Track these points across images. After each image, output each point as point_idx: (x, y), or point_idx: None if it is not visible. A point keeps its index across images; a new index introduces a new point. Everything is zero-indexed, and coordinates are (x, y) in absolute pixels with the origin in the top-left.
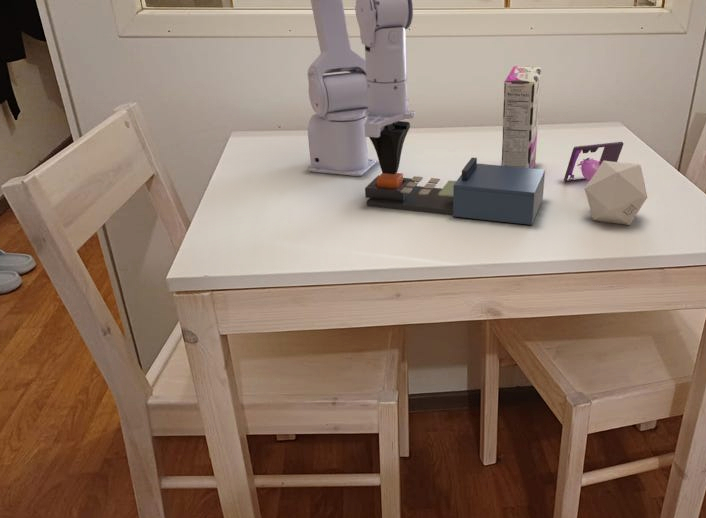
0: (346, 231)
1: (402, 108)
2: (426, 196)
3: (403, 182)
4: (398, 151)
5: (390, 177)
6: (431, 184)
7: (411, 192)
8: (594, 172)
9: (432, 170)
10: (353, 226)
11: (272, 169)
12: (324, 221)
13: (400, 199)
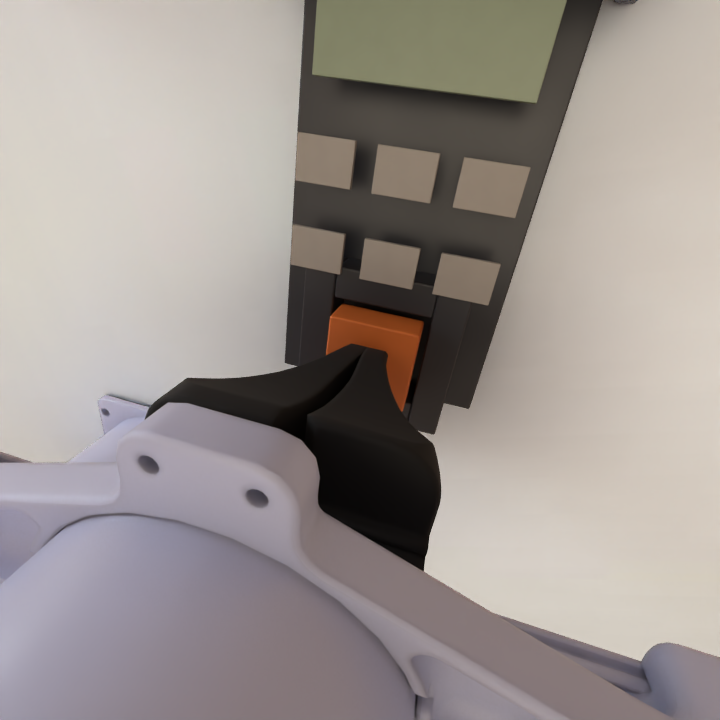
0: (706, 446)
1: (262, 648)
2: None
3: (335, 302)
4: (361, 384)
5: (389, 363)
6: (385, 166)
7: None
8: None
9: (84, 210)
10: (658, 428)
11: None
12: (595, 504)
13: None
